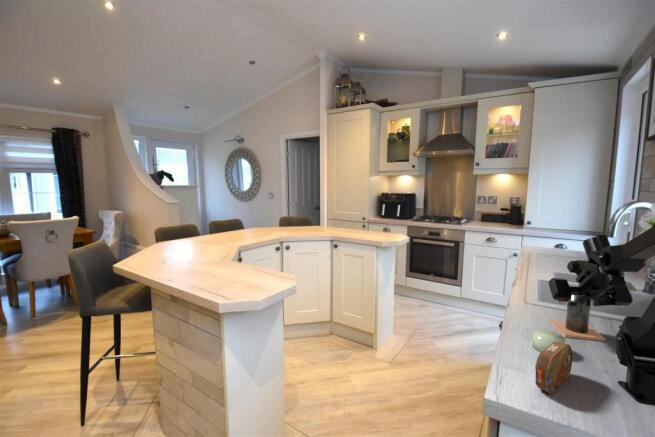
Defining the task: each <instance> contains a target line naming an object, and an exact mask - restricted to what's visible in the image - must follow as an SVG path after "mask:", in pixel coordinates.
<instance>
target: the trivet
mask: <svg viewBox="0 0 655 437" xmlns="http://www.w3.org/2000/svg"><path fill="white" fill-rule="evenodd" d="M549 323H550V324H551V325H552V326H553V327H554V328H555V329H556V331H558V332H559V334H560V335H561V336H563V337H564V338H570V339H579V340H588V341H589V340H590V341H597V342H599V341H600V342H606V339H607V338H606V337H604V336H603V335H601V334H600V333H599V332H597V331H596V330H595V329H594V328H592V327H591V326H590V325H589V326H588V333H577V332H573V331H570V330H568V329H567V328H566V327H565V325H566V321H561V320H549Z"/></svg>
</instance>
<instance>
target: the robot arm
mask: <svg viewBox="0 0 655 437" xmlns="http://www.w3.org/2000/svg"><path fill="white" fill-rule="evenodd" d="M582 246H583V248H584V252H585V255H586V257H587V260H581V259H577V260H570V261H569V262H568V263H567V266H566V268H567V270H568V272H569V273H572V274H575V275H576V278H575V282H576V283H578V286H570V284H569V281H568V279H566V278H560V277H552V278H550V280H549V281H547V282H548V286H549V289H550V293H551V297H552V299H554V300H555V301H557V302H558V304H559V305H561V304H564V303H568V302H569V300H570V299H571V296H572V295H577V296H584V298H591V300H593V299H594V300H593V301H592V305H593V307H594V308H595V307H617V306H618V307H621V306H624V307H625V306H626V307H627V306H630V305H631V304H632V303H633V301H634V298H633V295H632V293H631V290H630V289H629V286H628V285H627V282H626V279H625V277H626V276H625V273H633V274H634V273H635V274H637V273H638V272H640V271H641V270H642V269H644V268H645V267H646V266H647V263H646V261H647V260H648V259H650V258H652V257H653V258H654V257H655V222H654V223H653V224H652V226H651V227H650V228H648V229H646V230H645V231H643V232H641V233H640V234H638V235H636V236H634V237H633V238H632V239H630V240H628V241H627V242H625V243H623V244H622V243H621V244H616V245H611V242H610V240H609V238H608V237H607V235H606V234H597V235H596V236H593V237H589V238H586V239H584V240H583V241H582ZM618 329H619V330H618V332H617V333H616V335H615V347H616V348H615V349H616V355H617V359H618V363H619V364H620V365H622V366H625V367H627V369H626V377H625V381H623V380H622V381H621V380H617V384H618V385H619V386H620V387H621V388H622V389H623V390H624V391H625V392H626V393H628V394H629V396H631V397H632V398H633V399H634V400H635V401H636V402H639V403H644V404H645V403H646V404H653V405H655V295H654V296H653V299H652V300H651V301H650V303H649V305H648V306H647V308H646V309H645V311H644V312H643V314H642V315H641V317H640V316H632V315H631V316H629V315H627V316H626V317H624V319H623V322H622V324H621V325H619V326H618ZM639 357H640V358H639ZM653 359H654V360H653Z"/></svg>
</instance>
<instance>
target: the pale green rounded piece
mask: <svg viewBox="0 0 655 437" xmlns="http://www.w3.org/2000/svg"><path fill="white" fill-rule="evenodd" d="M532 336H533V337H532V348H533V349H534V350H535V351H537V352H538V353H539V354H540V353H541V352H542V351H544V350H545V349H546V348H547V347H549V346H550V345H551V344H552V343H554V342H560V343H564V344H566V337H564V336H563V335H562V334H560V333H556V332H554V331H551V330H546V329H536V330H534V331H533V335H532Z"/></svg>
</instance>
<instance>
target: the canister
mask: <svg viewBox="0 0 655 437" xmlns="http://www.w3.org/2000/svg"><path fill="white" fill-rule="evenodd" d="M566 303H567V305H566V315H565V316H566V317H565V322H566V325H565V327H566V328H567V329H568V330H570V331H573V332H577V333H588V326H590V325H589V324H590V314H591V305H592V298H584V296H577V295H572V296H571V299H570V300H569V302H566Z"/></svg>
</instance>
